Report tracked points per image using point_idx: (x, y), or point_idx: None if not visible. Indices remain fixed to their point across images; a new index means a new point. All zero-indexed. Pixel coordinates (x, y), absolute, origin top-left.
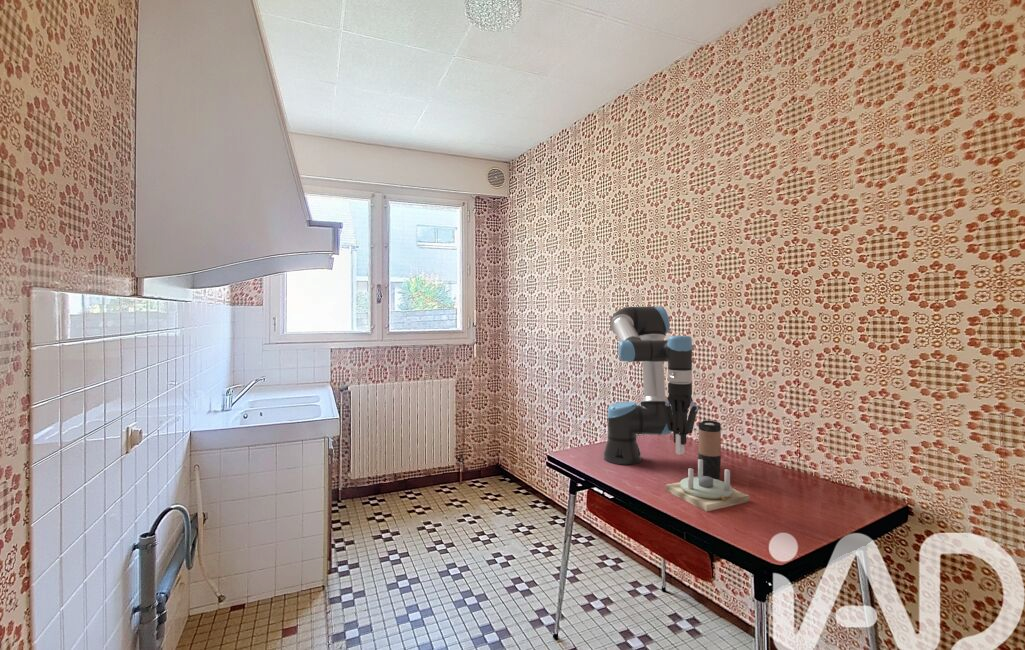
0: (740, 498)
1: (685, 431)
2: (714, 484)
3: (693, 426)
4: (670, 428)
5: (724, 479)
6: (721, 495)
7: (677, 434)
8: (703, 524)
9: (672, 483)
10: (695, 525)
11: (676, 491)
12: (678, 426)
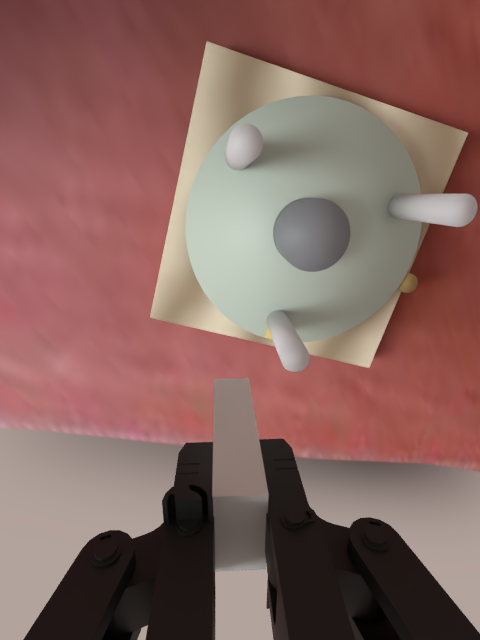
0: (441, 190)
1: (353, 620)
2: (328, 185)
3: (464, 615)
4: (130, 633)
5: (415, 215)
6: (399, 282)
7: (236, 570)
8: (389, 437)
9: (158, 280)
10: (375, 458)
11: (217, 331)
12: (213, 623)
